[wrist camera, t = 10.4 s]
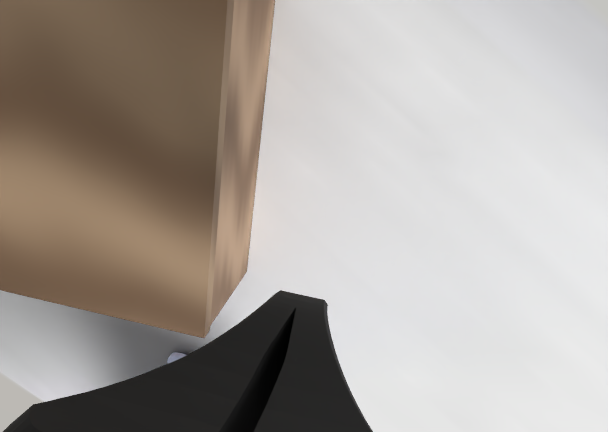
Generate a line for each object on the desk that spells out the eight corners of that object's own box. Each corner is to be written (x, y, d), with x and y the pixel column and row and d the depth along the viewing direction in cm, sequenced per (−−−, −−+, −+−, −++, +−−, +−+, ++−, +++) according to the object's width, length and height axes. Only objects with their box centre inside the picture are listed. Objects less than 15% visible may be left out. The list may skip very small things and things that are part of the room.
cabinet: (246, 275, 22) (204, 338, 17) (73, 238, 23) (-16, 286, 18) (278, -35, 17) (233, -83, 12) (56, -63, 18) (-75, -117, 13)
